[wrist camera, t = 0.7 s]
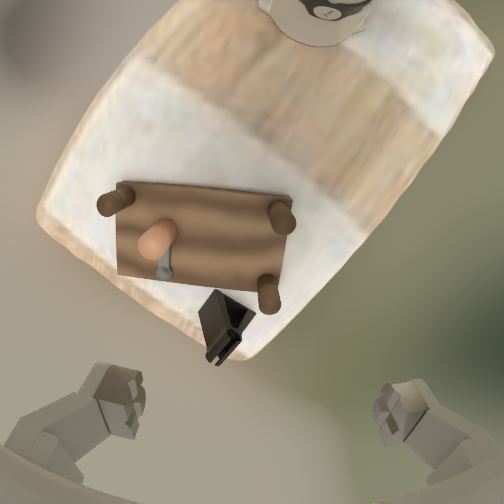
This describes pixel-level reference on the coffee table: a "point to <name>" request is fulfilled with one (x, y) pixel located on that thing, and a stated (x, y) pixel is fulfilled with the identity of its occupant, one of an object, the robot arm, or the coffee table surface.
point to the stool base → (205, 235)
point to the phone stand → (223, 325)
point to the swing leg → (159, 246)
